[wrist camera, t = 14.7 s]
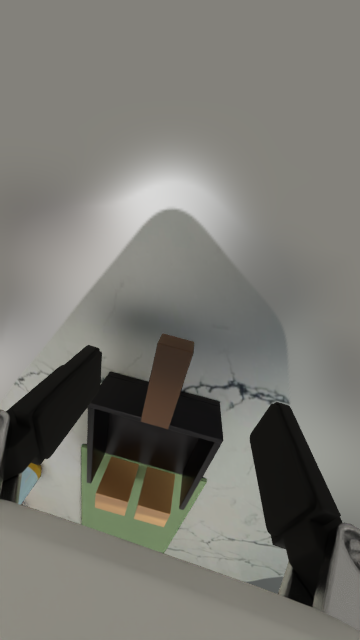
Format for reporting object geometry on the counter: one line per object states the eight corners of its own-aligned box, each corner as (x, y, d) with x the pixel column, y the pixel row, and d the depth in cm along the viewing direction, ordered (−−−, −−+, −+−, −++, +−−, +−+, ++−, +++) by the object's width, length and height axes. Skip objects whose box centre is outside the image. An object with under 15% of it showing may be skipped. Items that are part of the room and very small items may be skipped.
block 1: (95, 493, 21) (94, 507, 23) (128, 502, 21) (124, 516, 23) (111, 456, 25) (109, 471, 26) (139, 463, 25) (135, 478, 26)
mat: (82, 443, 25) (81, 446, 25) (206, 478, 25) (206, 482, 24) (82, 536, 40) (81, 538, 40) (159, 558, 40) (158, 561, 40)
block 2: (137, 505, 21) (133, 518, 23) (170, 514, 21) (163, 527, 23) (147, 466, 25) (143, 480, 26) (175, 474, 25) (169, 487, 26)
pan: (116, 301, 15) (85, 323, 11) (250, 338, 15) (266, 372, 11) (103, 447, 25) (84, 486, 21) (186, 470, 25) (183, 515, 21)
